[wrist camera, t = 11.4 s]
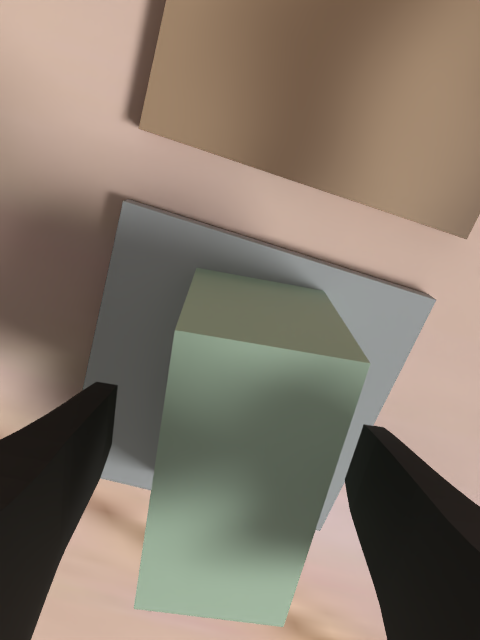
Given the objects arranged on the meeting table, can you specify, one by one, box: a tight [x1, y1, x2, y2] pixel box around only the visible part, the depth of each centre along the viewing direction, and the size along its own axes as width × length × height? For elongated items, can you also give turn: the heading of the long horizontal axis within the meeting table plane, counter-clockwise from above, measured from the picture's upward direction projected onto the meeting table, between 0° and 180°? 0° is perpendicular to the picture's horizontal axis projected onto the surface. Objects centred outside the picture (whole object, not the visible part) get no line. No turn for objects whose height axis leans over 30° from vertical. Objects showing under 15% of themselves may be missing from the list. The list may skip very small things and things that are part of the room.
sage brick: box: [134, 268, 371, 627], centre depth 12 cm, size 4×8×5 cm, turn 169°
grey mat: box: [82, 199, 436, 531], centre depth 15 cm, size 10×10×1 cm
